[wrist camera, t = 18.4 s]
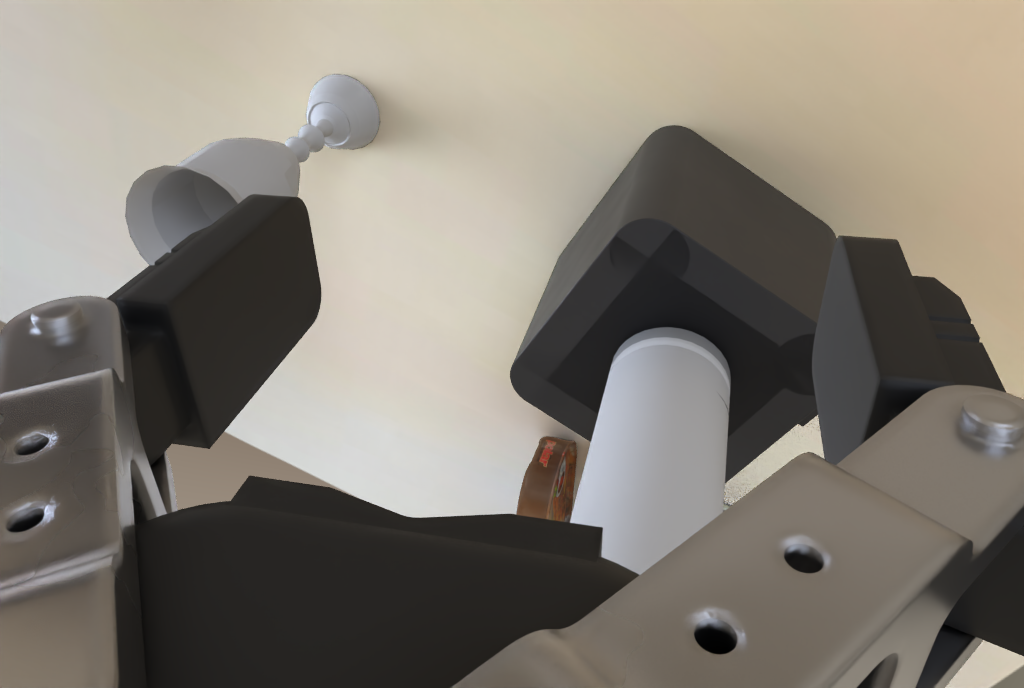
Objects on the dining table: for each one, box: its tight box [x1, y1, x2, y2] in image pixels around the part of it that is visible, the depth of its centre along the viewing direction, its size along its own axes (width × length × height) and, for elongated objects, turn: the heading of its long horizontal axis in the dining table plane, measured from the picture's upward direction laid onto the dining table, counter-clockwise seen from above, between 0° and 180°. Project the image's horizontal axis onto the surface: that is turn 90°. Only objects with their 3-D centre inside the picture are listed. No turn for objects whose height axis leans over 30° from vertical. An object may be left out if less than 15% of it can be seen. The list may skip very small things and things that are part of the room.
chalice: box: [125, 74, 380, 265], centre depth 46 cm, size 7×7×18 cm
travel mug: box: [570, 327, 731, 575], centre depth 35 cm, size 6×7×20 cm
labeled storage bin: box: [510, 126, 837, 483], centre depth 48 cm, size 18×14×13 cm
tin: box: [517, 436, 577, 523], centre depth 64 cm, size 15×3×8 cm, turn 178°
